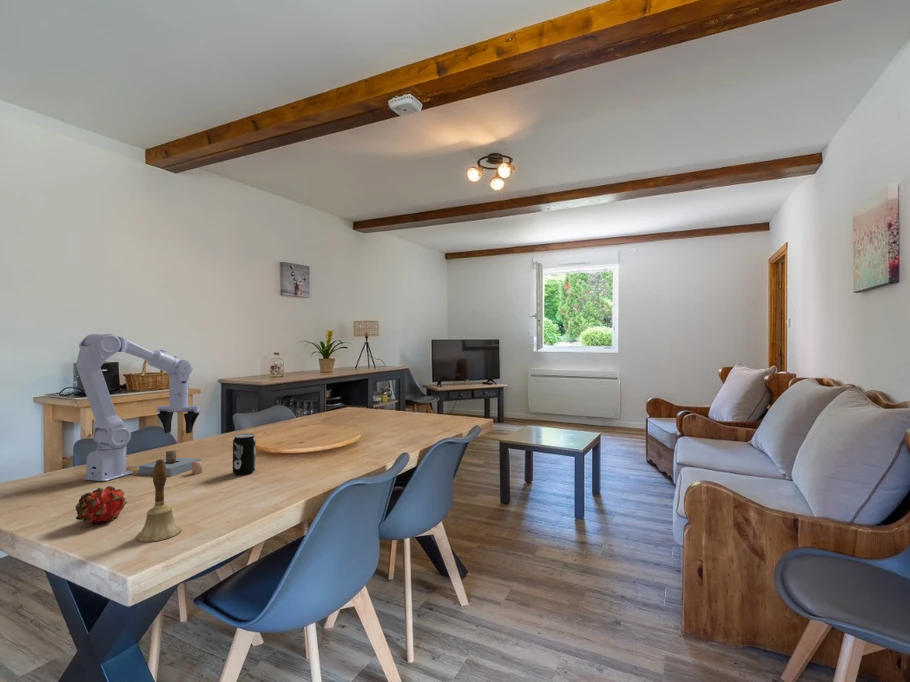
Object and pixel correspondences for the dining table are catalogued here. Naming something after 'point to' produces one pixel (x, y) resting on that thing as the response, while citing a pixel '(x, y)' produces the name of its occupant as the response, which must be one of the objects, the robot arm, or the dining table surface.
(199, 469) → the short pin
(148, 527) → the hand bell
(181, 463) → the hole block
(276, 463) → the dining table surface
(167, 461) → the long pin
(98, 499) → the dragon fruit
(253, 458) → the beverage can
